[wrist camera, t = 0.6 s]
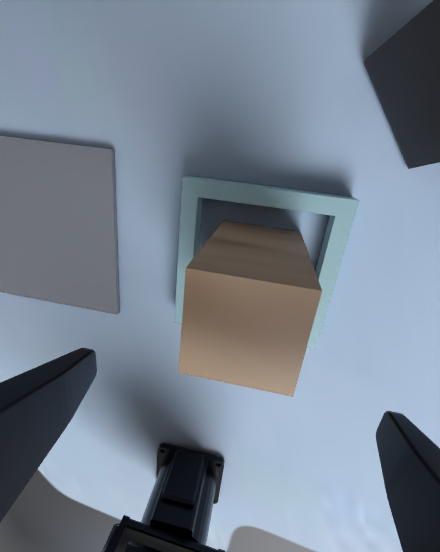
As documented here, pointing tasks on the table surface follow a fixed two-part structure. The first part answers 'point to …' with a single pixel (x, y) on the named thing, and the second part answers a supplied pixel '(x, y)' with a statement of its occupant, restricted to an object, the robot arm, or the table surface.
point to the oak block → (249, 308)
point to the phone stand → (412, 86)
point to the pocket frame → (268, 196)
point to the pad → (59, 223)
